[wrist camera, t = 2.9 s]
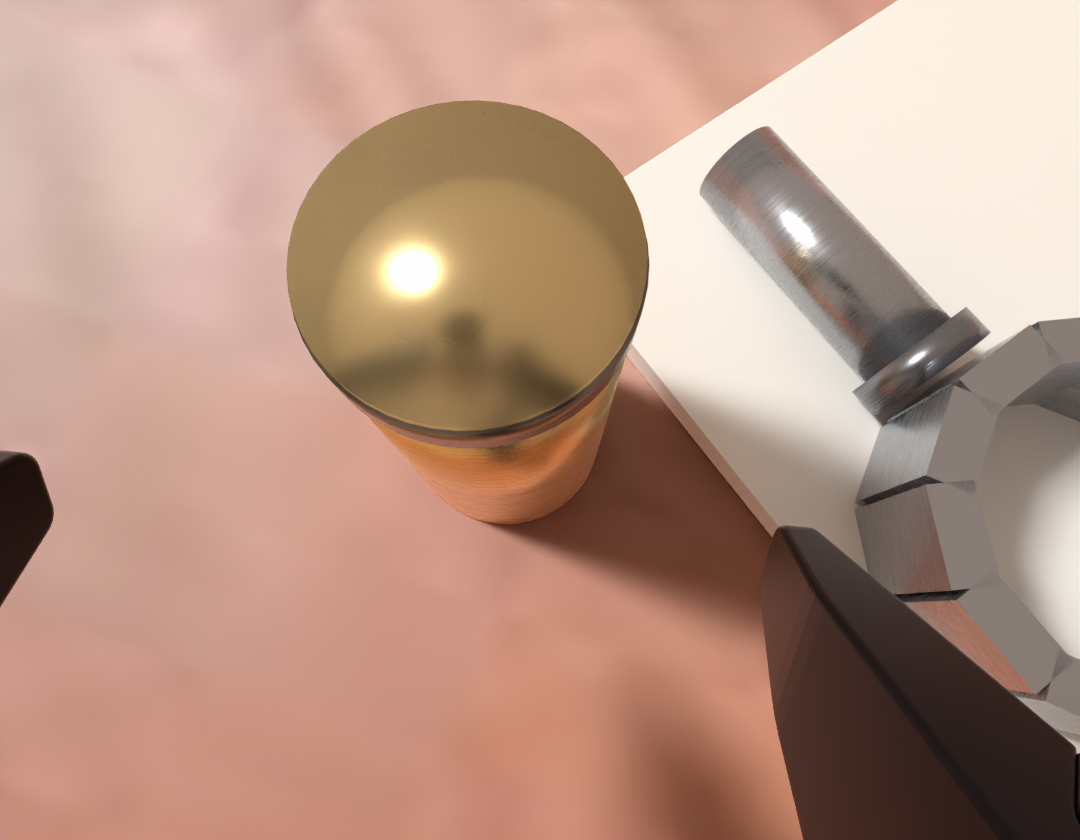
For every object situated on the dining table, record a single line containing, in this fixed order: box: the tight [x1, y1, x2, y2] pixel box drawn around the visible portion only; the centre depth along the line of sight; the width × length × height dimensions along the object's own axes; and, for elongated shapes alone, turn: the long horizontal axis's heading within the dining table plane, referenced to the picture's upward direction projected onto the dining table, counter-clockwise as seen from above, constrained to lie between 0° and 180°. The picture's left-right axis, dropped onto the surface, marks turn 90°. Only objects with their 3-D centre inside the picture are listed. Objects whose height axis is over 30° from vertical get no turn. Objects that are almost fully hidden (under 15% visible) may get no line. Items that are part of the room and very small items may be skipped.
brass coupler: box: [287, 101, 649, 524], centre depth 15 cm, size 5×5×10 cm
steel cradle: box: [699, 126, 1080, 734], centre depth 18 cm, size 16×16×4 cm
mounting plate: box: [624, 0, 1080, 754], centre depth 20 cm, size 20×18×1 cm
